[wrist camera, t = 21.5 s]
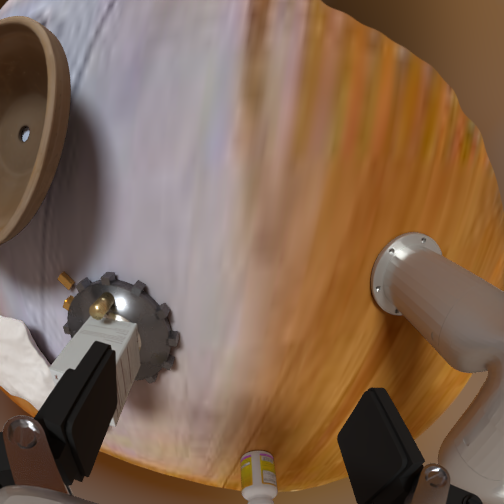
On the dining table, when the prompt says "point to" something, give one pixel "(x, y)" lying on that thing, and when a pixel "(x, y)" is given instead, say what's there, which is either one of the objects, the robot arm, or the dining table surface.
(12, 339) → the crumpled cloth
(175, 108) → the dining table surface
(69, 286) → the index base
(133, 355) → the supplement box
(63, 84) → the flower pot
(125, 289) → the sprocket disc
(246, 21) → the dining table surface
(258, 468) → the supplement bottle
